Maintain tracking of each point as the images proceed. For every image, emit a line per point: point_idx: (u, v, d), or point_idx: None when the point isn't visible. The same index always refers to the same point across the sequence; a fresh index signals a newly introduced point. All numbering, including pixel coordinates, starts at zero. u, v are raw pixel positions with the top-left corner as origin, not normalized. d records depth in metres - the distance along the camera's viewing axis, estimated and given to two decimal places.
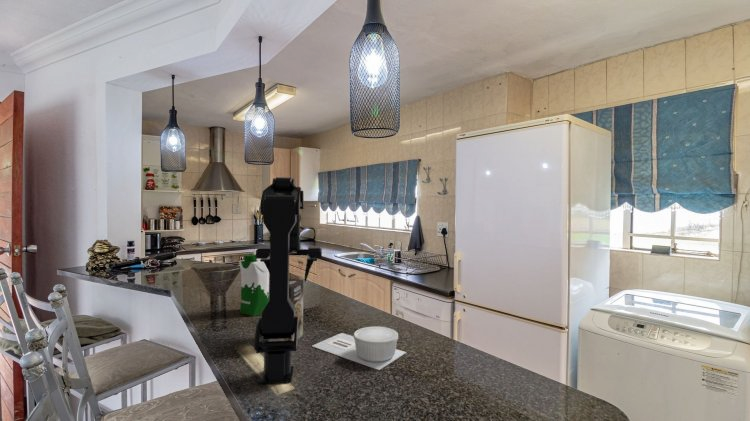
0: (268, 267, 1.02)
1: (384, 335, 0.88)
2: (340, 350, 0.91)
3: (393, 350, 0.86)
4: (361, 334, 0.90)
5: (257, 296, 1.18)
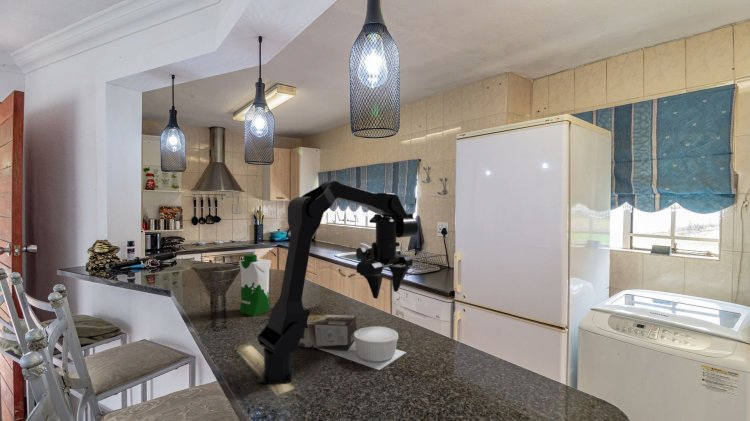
0: (379, 283, 0.92)
1: (384, 335, 0.88)
2: (340, 350, 0.91)
3: (393, 350, 0.86)
4: (361, 334, 0.90)
5: (257, 296, 1.18)
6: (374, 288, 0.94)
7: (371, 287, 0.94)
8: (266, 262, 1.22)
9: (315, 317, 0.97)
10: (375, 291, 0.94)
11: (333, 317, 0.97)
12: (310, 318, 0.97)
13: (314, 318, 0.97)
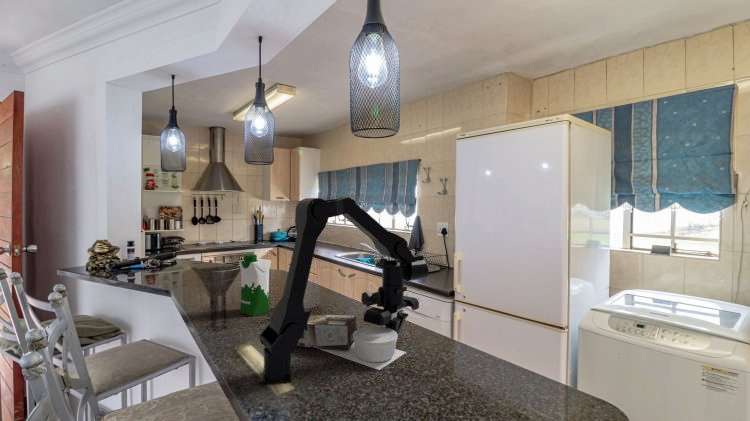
0: (396, 327, 0.93)
1: (383, 335, 0.87)
2: (340, 350, 0.91)
3: (392, 350, 0.86)
4: (360, 334, 0.89)
5: (257, 296, 1.18)
6: None
7: None
8: (266, 262, 1.22)
9: (315, 317, 0.97)
10: None
11: (333, 317, 0.97)
12: (310, 318, 0.97)
13: (314, 318, 0.97)
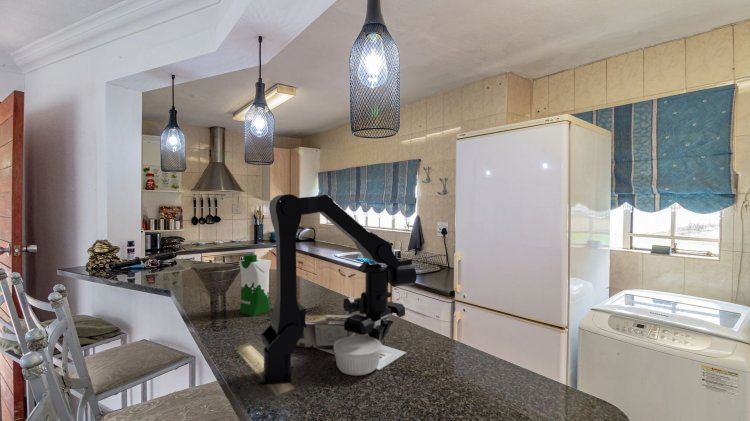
0: (380, 335, 0.87)
1: (366, 345, 0.81)
2: None
3: (376, 362, 0.80)
4: (342, 345, 0.83)
5: (257, 296, 1.18)
6: None
7: None
8: (266, 262, 1.22)
9: (315, 317, 0.97)
10: None
11: (333, 317, 0.97)
12: (310, 318, 0.97)
13: (314, 318, 0.97)
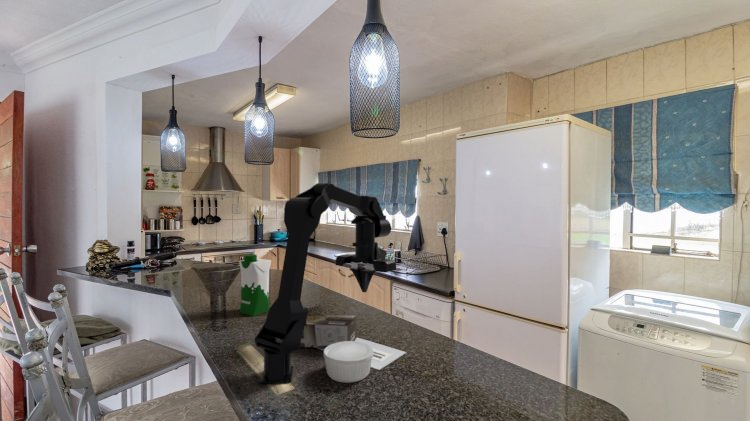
0: (356, 276, 1.03)
1: (357, 351, 0.79)
2: None
3: (367, 369, 0.77)
4: (332, 351, 0.80)
5: (257, 296, 1.18)
6: None
7: None
8: (266, 262, 1.22)
9: (315, 317, 0.97)
10: None
11: (333, 317, 0.97)
12: (310, 318, 0.97)
13: (314, 318, 0.97)
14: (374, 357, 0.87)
